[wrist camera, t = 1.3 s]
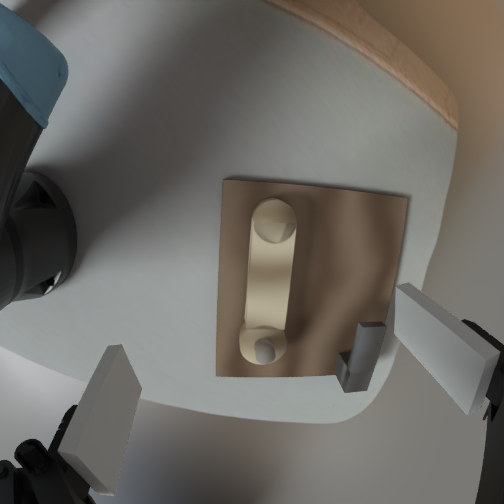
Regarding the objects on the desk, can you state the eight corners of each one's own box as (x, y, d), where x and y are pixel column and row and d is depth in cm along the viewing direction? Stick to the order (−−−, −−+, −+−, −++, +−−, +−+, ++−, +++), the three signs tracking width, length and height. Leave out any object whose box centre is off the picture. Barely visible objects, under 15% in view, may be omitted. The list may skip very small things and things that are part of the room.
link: (280, 352, 35) (287, 375, 31) (237, 351, 34) (239, 375, 30) (298, 200, 30) (309, 205, 26) (247, 196, 30) (251, 201, 26)
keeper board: (216, 371, 36) (214, 399, 31) (223, 179, 31) (222, 181, 25) (368, 367, 38) (383, 391, 33) (403, 197, 32) (429, 203, 27)
